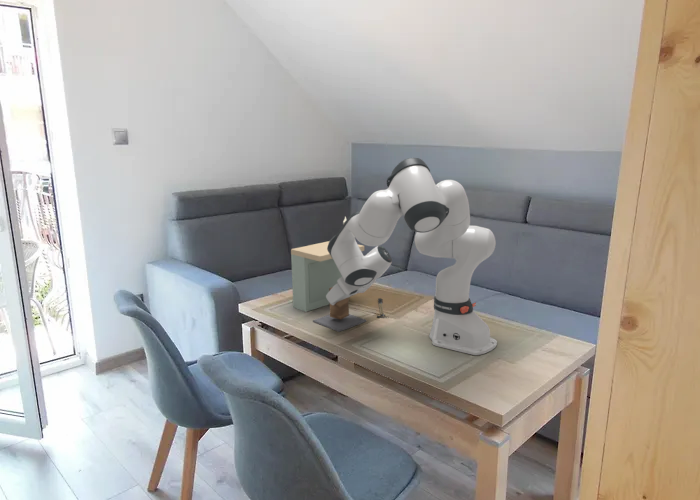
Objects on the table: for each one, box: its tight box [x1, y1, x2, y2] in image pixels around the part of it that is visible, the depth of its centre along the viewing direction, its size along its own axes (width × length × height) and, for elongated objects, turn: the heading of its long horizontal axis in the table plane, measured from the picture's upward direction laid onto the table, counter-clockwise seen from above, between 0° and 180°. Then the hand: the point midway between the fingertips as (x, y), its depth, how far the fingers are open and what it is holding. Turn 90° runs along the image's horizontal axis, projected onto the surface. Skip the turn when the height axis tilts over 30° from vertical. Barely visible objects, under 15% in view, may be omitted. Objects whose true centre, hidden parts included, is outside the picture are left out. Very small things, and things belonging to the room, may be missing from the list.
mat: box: [312, 313, 367, 333], centre depth 185 cm, size 14×14×1 cm
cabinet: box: [290, 240, 365, 313], centre depth 201 cm, size 17×24×24 cm
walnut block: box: [329, 287, 350, 320], centre depth 183 cm, size 5×5×11 cm
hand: (338, 300), depth 184 cm, fingers closed on walnut block, 5 cm apart
